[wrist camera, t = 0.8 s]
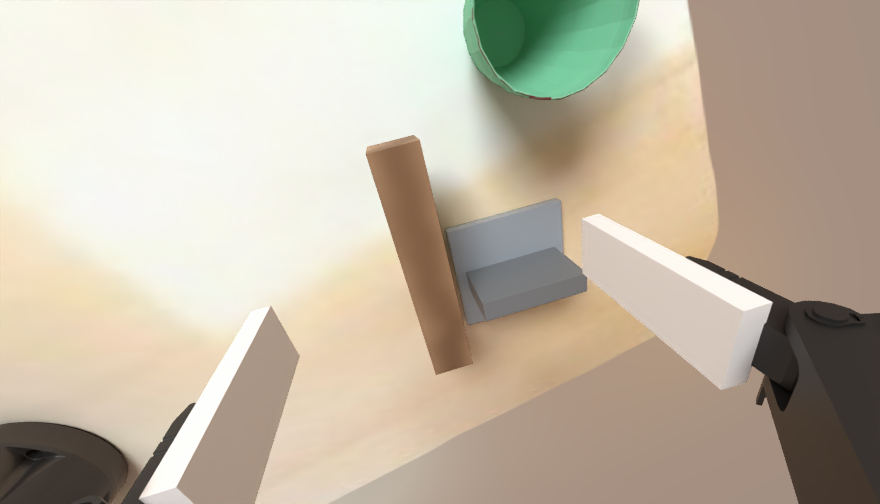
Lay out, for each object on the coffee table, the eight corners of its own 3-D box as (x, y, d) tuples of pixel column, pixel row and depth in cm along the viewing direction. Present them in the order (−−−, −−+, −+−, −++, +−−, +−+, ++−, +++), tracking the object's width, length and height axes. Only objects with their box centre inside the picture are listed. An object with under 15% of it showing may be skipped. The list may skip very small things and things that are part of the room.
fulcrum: (466, 319, 38) (484, 363, 32) (445, 229, 32) (461, 259, 26) (560, 291, 39) (596, 328, 32) (555, 198, 33) (597, 220, 27)
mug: (470, 123, 28) (513, 132, 20) (414, 1, 24) (436, -59, 15) (617, 33, 28) (732, 0, 19) (587, -111, 23) (719, -244, 14)
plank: (430, 348, 32) (436, 374, 29) (367, 146, 23) (365, 154, 20) (463, 338, 32) (472, 363, 29) (413, 135, 23) (419, 140, 20)
